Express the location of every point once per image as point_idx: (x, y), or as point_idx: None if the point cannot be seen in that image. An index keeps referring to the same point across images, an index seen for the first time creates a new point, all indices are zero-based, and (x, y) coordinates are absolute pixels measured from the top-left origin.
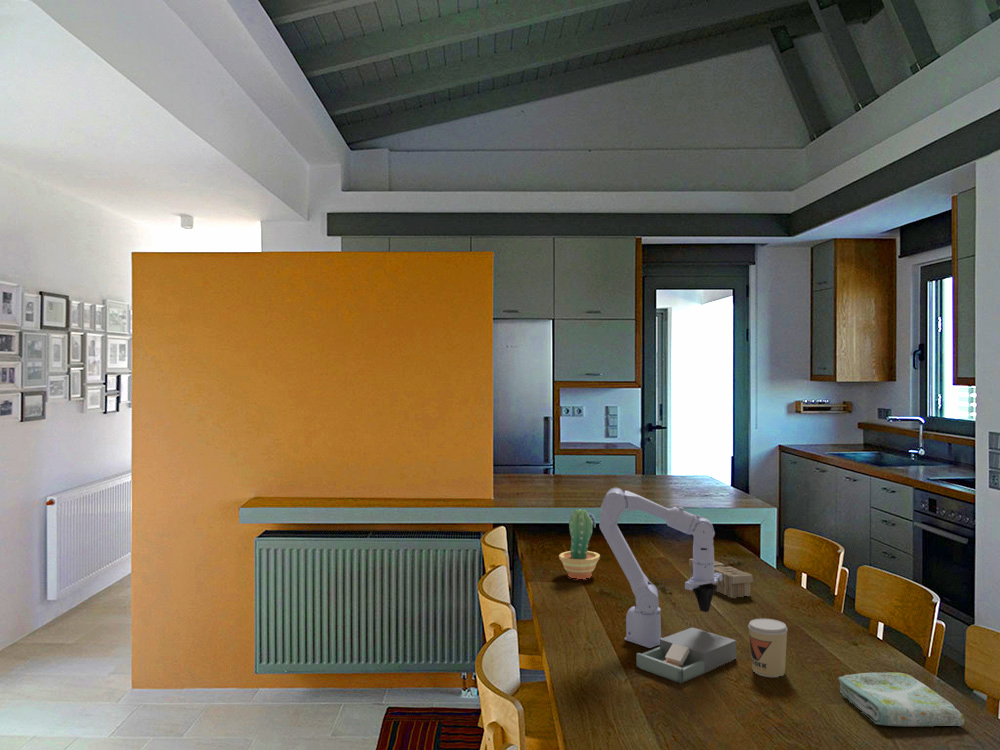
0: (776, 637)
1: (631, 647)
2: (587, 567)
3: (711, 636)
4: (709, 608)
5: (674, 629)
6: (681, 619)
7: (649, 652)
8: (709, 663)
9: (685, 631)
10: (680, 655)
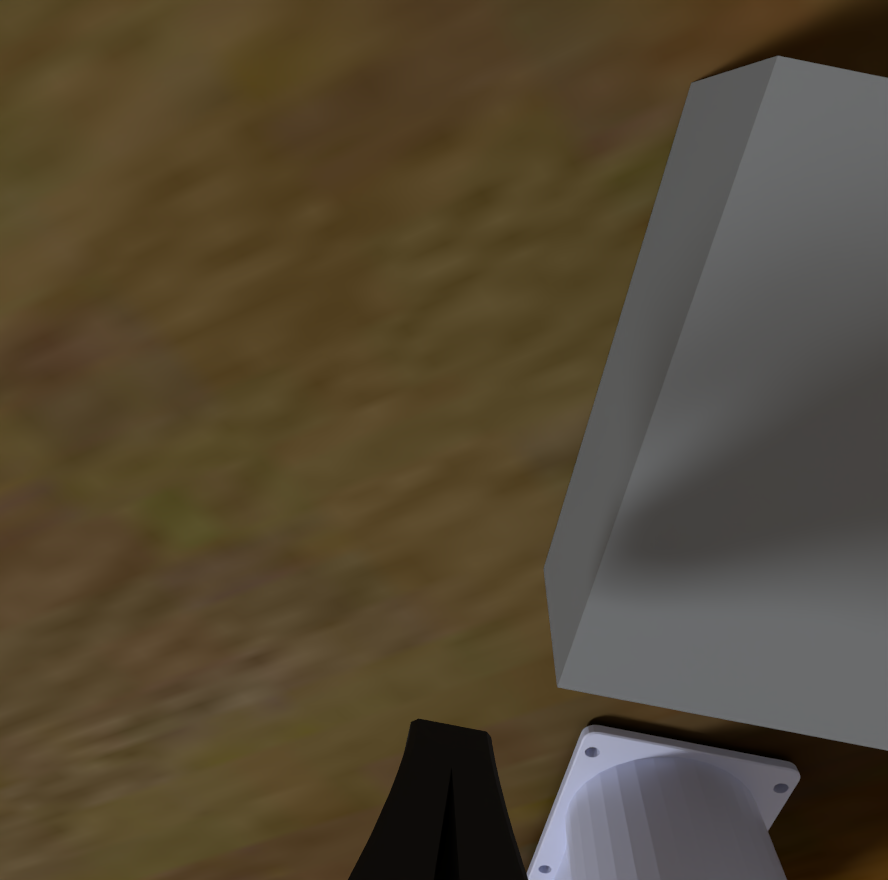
0: None
1: (819, 843)
2: None
3: (768, 421)
4: (411, 748)
5: (306, 768)
6: (93, 796)
7: None
8: None
9: (731, 693)
10: None
